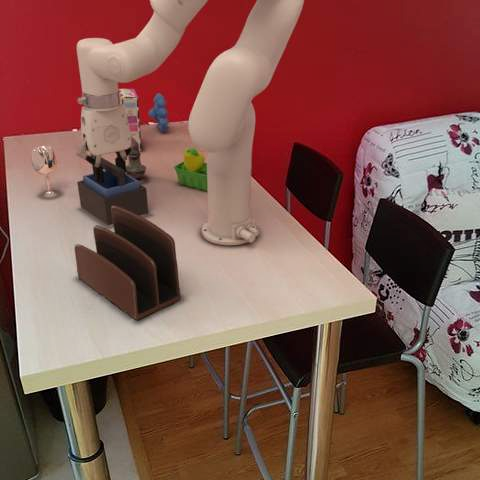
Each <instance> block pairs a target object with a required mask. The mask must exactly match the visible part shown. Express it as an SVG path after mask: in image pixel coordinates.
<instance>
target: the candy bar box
mask: <svg viewBox="0 0 480 480" xmlns="http://www.w3.org/2000/svg"><path fill="white" fill-rule="evenodd" d="M118 92H119V102H120V103H121V104H123V105H124V108H125V111H126V115H127V119H128V123H129V128H130V134H131V137H133V139H134V140H135V141H137V142H138V145H139V152H142V150H143V148H142V135H141V134H142V133H141V120H140V119H141V118H140V108H139V107H140V106H139V105H140V104H139V96H138V95H137V92H136V89H135V88H118Z"/></svg>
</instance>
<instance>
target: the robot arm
mask: <svg viewBox="0 0 480 480" xmlns="http://www.w3.org/2000/svg"><path fill="white" fill-rule="evenodd" d="M208 1H209V0H149V3H150V6H151V9H152V10H153V14H152V16H151V18H150V20H149V21H148V22H147V24H146V25H145V26H144V27H143V29H142V30H141V31H140V33H139V34H138V35H137V36H136V37H134V38H130V39H128V40H124V41H121V42H117V43H113V42H112V41H111V40H110V39H106V38H103V37H89V38H82V39H80V40H79V41H78V42H77V43H76V55H77V61H78V69H79V70H78V71H79V76H80V85H81V96H80V97H77V103H78V105H83V106H81V113H80V132H81V133H80V134H81V142H80V145H79V147H78V149H77V150H76V152H75V155H76V156H77V157H79V158H80V159H83V160H85V161H86V162H88V163H89V164H90V165H91V166H92V167H91V168H92V174H93V175H94V178H95V179H96V180H97V181H98V182H100V183H104V182H105V181H104V173H103V171H104V169H103V167H102V166H100V162H101V157H102V156H104V155H108V154H113V153H115V155H116V157H115V158H114V162H115V163H114V165H116V166H118V167H120V168H121V169H123V170H124V172H125V177H126V166H127V164H126V161H127V160H128V155H129V153H130V152H131V149H133V147H134V146H135V145H136V143H137V142H136V141H135V140H134V139H133V138H132V137H131V134H130V128H129V123H128V119H127V115H126V111H125V108H124V105H123V104H121V103H120V96H119V83H121V84H126V83H131V82H134V81H135V80H138V79H140V78H142V77H144V76H148V75H150V74H152V73H153V72H156V70H158V69H159V68H160V66H161V65H163V63H164V62H165V61H166V60H167V59H168V57H170V55H171V53H173V51H174V50H175V49H176V47H177V46H178V45H179V43H180V42H181V39H182V37H183V35H184V33H185V30H186V28H187V27H188V25H190V23H191V22H192V20H193V19H194V18H195V17H196V15H197V14H198V13H199V12H200V11H201V10H202V9H203V7H204V6H205V5H206V3H208ZM304 3H305V0H256V2H255V4H254V5H253V7H252V9H251V10H250V12H249V14H248V16H247V19H246V22H245V24H244V26H243V29H242V31H241V33H240V35H239V37H238V39H237V41H236V43H235V45H233V46H232V47H231V48H229V49H227V50H225V51H222V53H220V54H219V55H217V56H216V57H215V59H214V60H213V62H212V63H211V65H209V68H208V69H207V71H206V74H205V76H204V79H203V81H202V84H201V87H200V88H199V91H198V93H197V95H196V99H195V101H194V103H193V106H192V108H191V110H190V114H189V117H188V123H187V129H188V134H189V135H188V136H189V137H190V140H191V142H192V143H193V145H194V146H195V147H196V148H197V149H199V150H200V151H202V152H205V153H206V163H207V189H208V191H207V218H208V219H207V221H206V222H205V223H203V225H202V226H201V235H202V237H203V238H204V239H205V240H206V241H208V242H210V243H213V244H216V245H219V246H238V245H244V244H247V243H253V242H254V241H255V240H256V237H257V236H259V235H260V230H259V229H258V227H257V225H256V224H255V223H254V219H253V218H252V217H251V214H252V213H251V212H252V211H251V209H252V166H253V165H252V158H253V155H252V154H253V146H254V145H253V144H254V136H255V128H256V111H255V108H254V105H253V103H252V100H253V99H254V98H255V97H256V96H258V95H259V94H261V93H262V92H263V91H264V90H266V88H267V87H268V86H269V84H270V82H271V80H272V78H273V76H274V73H275V71H276V68H277V66H278V65H279V62H280V60H281V58H282V56H283V54H284V51H285V49H286V47H287V44H288V42H289V41H290V38H291V36H292V34H293V31H294V29H295V27H296V25H297V23H298V20H299V18H300V15H301V12H302V11H303V7H304ZM86 152H89V154H87V153H86Z"/></svg>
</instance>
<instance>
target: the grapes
mask: <svg viewBox="0 0 480 480" xmlns="http://www.w3.org/2000/svg"><path fill="white" fill-rule="evenodd" d="M152 100H153V101H152V102H153V103H154V106H153V107H152V108H151V109H149V111H148V112H147V115H148V116H149V117H150V118H151V119H154V120H155V121H156V123H157V124H156V127H157V128H158V130H159V131H161V132H162V133H166V132H167V131H168V129H169V126H168V125H169V123H170V121H169V120H168V119H167V116H168V114H169V111H168V110H167V108H165V107H166V105H167V101H166V100H165V97H164V95H163V94H162V93H160V92H159V93H157V94H156V95H155V97H154V98H153V99H152Z"/></svg>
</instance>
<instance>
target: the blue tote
mask: <svg viewBox="0 0 480 480" xmlns="http://www.w3.org/2000/svg"><path fill="white" fill-rule="evenodd" d="M100 166H102V167H103V173H104V181H105V182H104V183H100V182H98V181H97V180H96V179H95V178H94V175H93V173H90V174H85V175H82V180H84V184H85V185H87V186H88V187H90V188H91V189H93V190H95V191H96V192H98V193H99V194H101V195H102V196H104V197H106V198H107V197H110V196H114V195H117V194H121V193H125V192H128V191H132V190H135V189H139V188H140V185H139V184H140V180H136V179H134V178H132V177H130V176H129V175H127V174H126V177H125V172H124V170H123V169H121V168H120V167H118V166H116V164H115V163H113V162H111V161H109V160H107V159H105V158H104V157H102V156H101V162H100Z"/></svg>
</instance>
